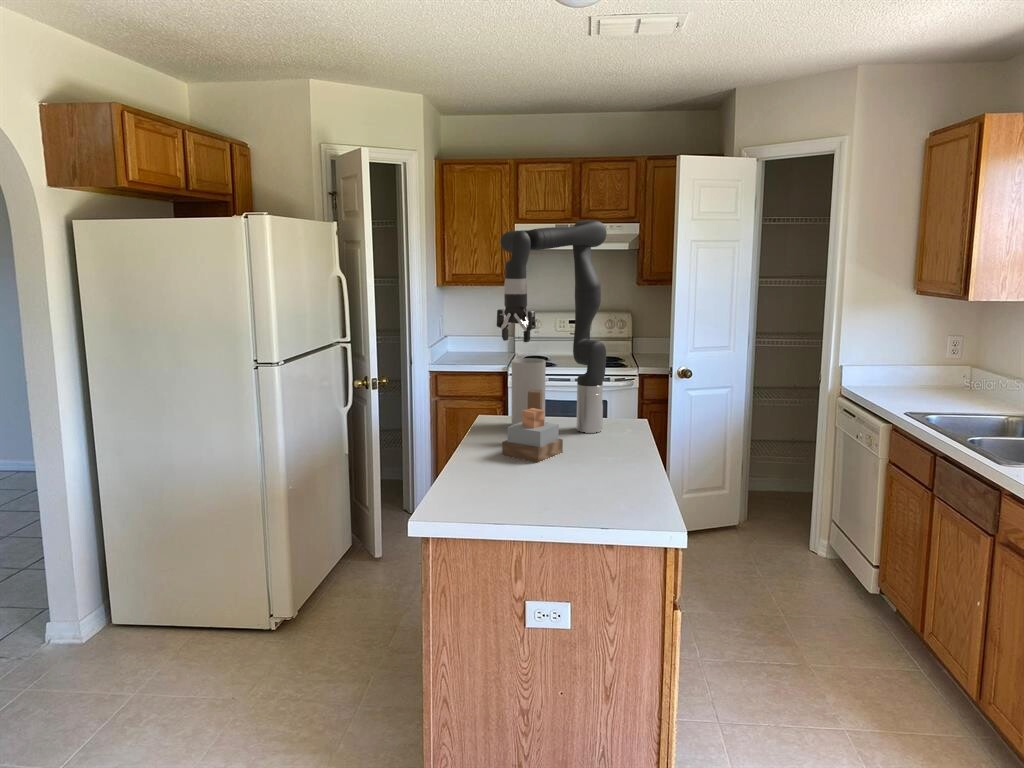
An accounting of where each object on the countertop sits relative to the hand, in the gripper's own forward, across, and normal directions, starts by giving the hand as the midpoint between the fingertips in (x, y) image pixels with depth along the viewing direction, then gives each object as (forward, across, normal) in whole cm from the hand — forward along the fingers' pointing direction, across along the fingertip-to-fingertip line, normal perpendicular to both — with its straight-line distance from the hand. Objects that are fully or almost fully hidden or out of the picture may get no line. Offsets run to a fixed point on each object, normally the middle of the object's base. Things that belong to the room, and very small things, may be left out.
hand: (515, 341), depth 246 cm
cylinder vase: (+36, +10, -22) cm, 43 cm away
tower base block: (+36, -12, +8) cm, 39 cm away
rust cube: (+25, -13, +8) cm, 30 cm away
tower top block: (+30, -13, +8) cm, 34 cm away
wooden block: (+35, -6, -6) cm, 36 cm away
